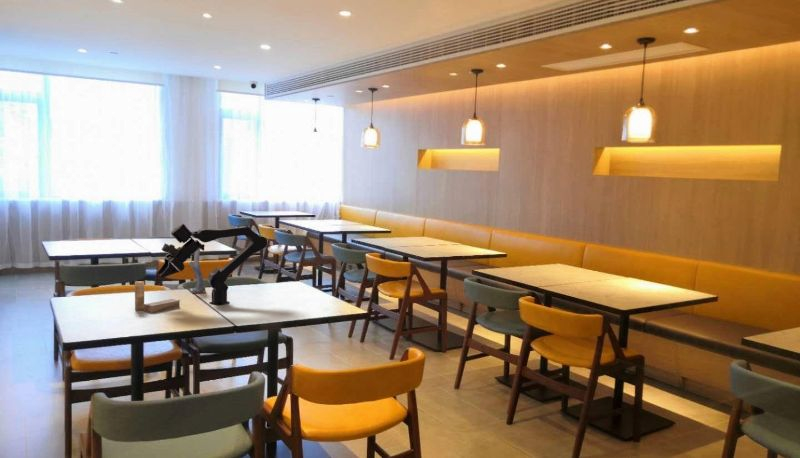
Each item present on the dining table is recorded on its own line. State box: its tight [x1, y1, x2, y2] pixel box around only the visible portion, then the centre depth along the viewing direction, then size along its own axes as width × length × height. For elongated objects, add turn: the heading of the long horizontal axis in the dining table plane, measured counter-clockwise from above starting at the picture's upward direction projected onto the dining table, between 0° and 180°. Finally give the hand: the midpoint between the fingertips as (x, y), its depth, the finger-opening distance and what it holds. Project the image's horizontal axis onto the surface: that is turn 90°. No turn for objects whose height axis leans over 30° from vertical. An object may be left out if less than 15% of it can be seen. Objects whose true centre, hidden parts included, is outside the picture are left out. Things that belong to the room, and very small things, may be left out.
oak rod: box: [134, 280, 145, 312], centre depth 244 cm, size 4×4×12 cm
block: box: [143, 298, 180, 314], centre depth 247 cm, size 5×14×3 cm, turn 151°
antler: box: [189, 248, 207, 294], centre depth 286 cm, size 12×8×25 cm
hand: (159, 275), depth 249 cm, fingers open, 9 cm apart
